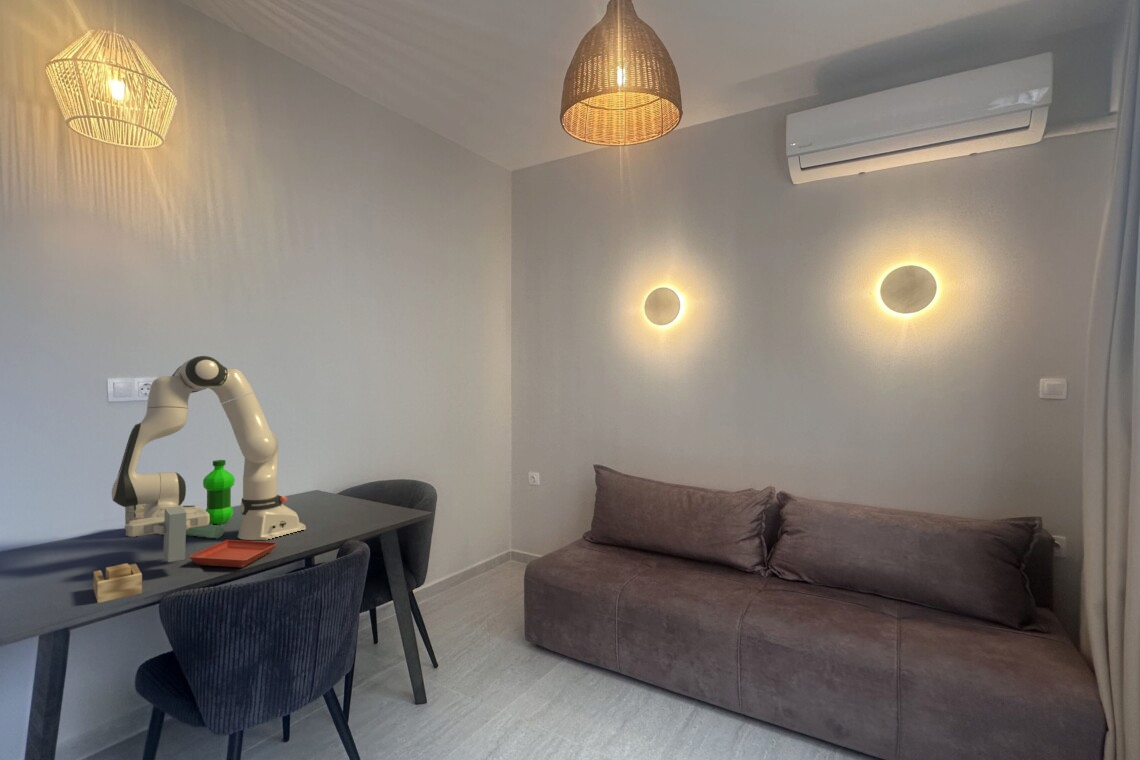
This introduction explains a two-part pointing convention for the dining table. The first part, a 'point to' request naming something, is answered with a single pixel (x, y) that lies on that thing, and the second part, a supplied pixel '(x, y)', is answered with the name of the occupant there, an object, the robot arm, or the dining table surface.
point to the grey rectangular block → (174, 534)
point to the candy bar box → (133, 513)
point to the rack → (117, 585)
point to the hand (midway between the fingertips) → (174, 529)
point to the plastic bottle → (219, 493)
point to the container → (206, 531)
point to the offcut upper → (118, 571)
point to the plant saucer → (233, 553)
